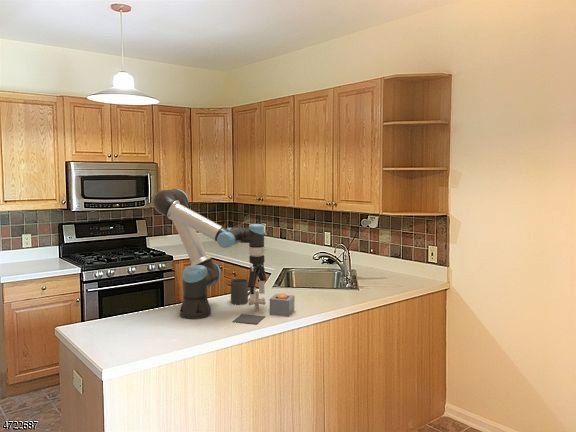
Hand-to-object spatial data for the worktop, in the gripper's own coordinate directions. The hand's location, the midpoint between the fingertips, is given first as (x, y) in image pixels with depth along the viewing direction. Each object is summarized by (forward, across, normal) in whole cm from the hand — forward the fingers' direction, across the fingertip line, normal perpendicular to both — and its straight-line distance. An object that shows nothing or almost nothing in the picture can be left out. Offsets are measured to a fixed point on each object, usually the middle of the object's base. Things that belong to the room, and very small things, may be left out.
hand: (257, 296), depth 247 cm
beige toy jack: (+8, 0, 0) cm, 8 cm away
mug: (+7, +14, +14) cm, 21 cm away
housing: (+8, +1, -12) cm, 15 cm away
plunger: (+1, +1, -13) cm, 13 cm away
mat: (+7, -14, 0) cm, 16 cm away
